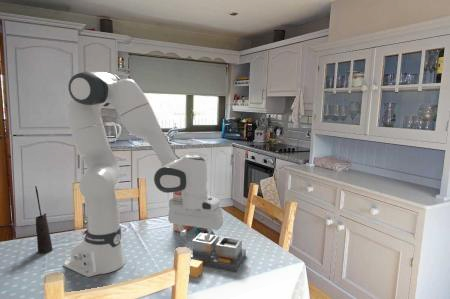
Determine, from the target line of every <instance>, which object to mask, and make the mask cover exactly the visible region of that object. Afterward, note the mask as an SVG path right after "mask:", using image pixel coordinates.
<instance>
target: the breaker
mask: <svg viewBox="0 0 450 299" xmlns="http://www.w3.org/2000/svg"><path fill="white" fill-rule="evenodd" d="M204 235H205V234H202V235H201V236H200V237H199V238H198V241H203V242H209V243H210V242H211V241H212V240H213V239H214V235H210V239H209V240H205V239H204V238H205V237H204Z"/></svg>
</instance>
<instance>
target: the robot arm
mask: <svg viewBox="0 0 450 299" xmlns="http://www.w3.org/2000/svg"><path fill="white" fill-rule="evenodd" d="M67 88H68V93H69V95H70V96H71V99H69V100H68V101H67V103H66V114H67V122H68V127H69V130H70V133H71V137H72V141H73V142H74V147H75V150H76V153H77V154H78V155H79V156H80V157H81V159H82V161H83V162H84V164H85V167H86V171H85V172H84V173H83V174H82V176H81V178H80V181H79V183H78V190H79V193H80V194H81V195H82V197H83V201H84V204H85V208H86V213H87V214H86V215H87V228H86V230H84V231H82V234H81V235H82V236H83V235H84V238H83V239H82V240H81V241H79V242H78V243H77V244H75V245H74V246H73V247H72V249H71V252H70V257H68V258H66V260H65V261H64V263H63V266H64V267H65V268H67V269H70V270H72V271H74V272H76V273H78V274H80V275H83V276H84V277H87V278H89V277H93V276H96V275H97V276H98V275H103V274H104V275H105V274H109V273H111V272H114V271H115V272H116V271H118V270H119V269H121V268H122V267H123V266H124V265H125V263H126V259H125V257H124V256H125V255H124V253H123V248H122V242H121V240H122V229H121V228H122V227H121V226H120V207H119V205H118V201H117V197H116V187H117V186H118V184H119V183H120V181H121V178H122V169H121V167H120V165H118V161H117V160H116V156H115V155H114V152H113V150H112V149H111V148H112V147H111V146H110V143H109V139H108V136H107V133H106V132H107V131H106V128H105V124H104V121H103V118H102V114H101V111H102V107H108V106H109V105H112V106H113V108H114V109H115V111H116V113H117V115H118V117H119V119H120V120H121V123H122V125H123V126H124V127H125V128H126V130H127V131H128V133H130V134H131V135H132V136H134V137H137V138H140V139H142V140H144V141H145V142H147V143H148V144H149V146H151V147H150V148H152V150H153V152H154V153H155V155H156V157H157V158H158V160H159V162H160V164H161V165H160V167H159V168H158V169H157V171H156V172H155V174H154V176H153V177H154V178H153V181H154V182H153V183H154V184H155V187H156V188H157V190H159V191H160V192H162V193H166V194H167V193H168V194H169V193H173V192H177V191H182V199H180V198H179V199H178V198H170V200H168V208H169V209H168V214H167V216H168V217H167V218H168V219H167V220H168V222H169V223H170V224H172V225H173V224H177V225H178V228H179V230H180V231H181V232H180V237H186V236H187V230H184V228H183V225H187V226H192V227H195V228H199V227H200V228H207V231H209V232H208V233H206V234H205V235H204V237H205V238H204V239H205V240H209V239H210V234H211V232H212V231H213V230H215V231H219V230H220V229H221V228H222V227H223V225H224V219H223V218H224V217H223V209H222V208H221V207H220V205H221V200H220V199H219V198H217V197H214V196H212V195H211V194H209V193H208V190H207V189H208V188H207V182H208V167H207V163H206V160H205V158H204V157H202V156H200V155H197V154H184V155H183V156H182V157H179V156H178V155H177V154H176V152H175V151H174V149H173V147H172V146H171V144H170V142H169V141H168V139H167V137H166V135H165V133H164V132H163V130H162V127H161V125H160V123H159V121H158V118H157V117H156V114H155V111H154V110H153V108H152V105H151V104H150V101H149V100H148V98H147V96H146V95H145V93H144V92H143V90H142V89H141V87H140V86H139V85H138V83H137V82H136V81H135V80H133V79H131V78H122V79H121V78H120V77H119V76H118V75H116V74H115V73H112V72H105V71H101V70H100V71H97V70H96V71H81V72H77V73H76V74H74V75H73V76H71V78H70V79H69V81H68V87H67Z"/></svg>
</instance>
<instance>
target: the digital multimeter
mask: <svg viewBox="0 0 450 299" xmlns="http://www.w3.org/2000/svg"><path fill="white" fill-rule="evenodd" d="M208 232H209V231H207V228H200V227H195V229H194V233H195V234H196V237H197V236H198V235H199V234H200V233H205V234H206V233H208ZM211 235H216V234H215V232H214V231H213V230H212V232H211Z"/></svg>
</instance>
